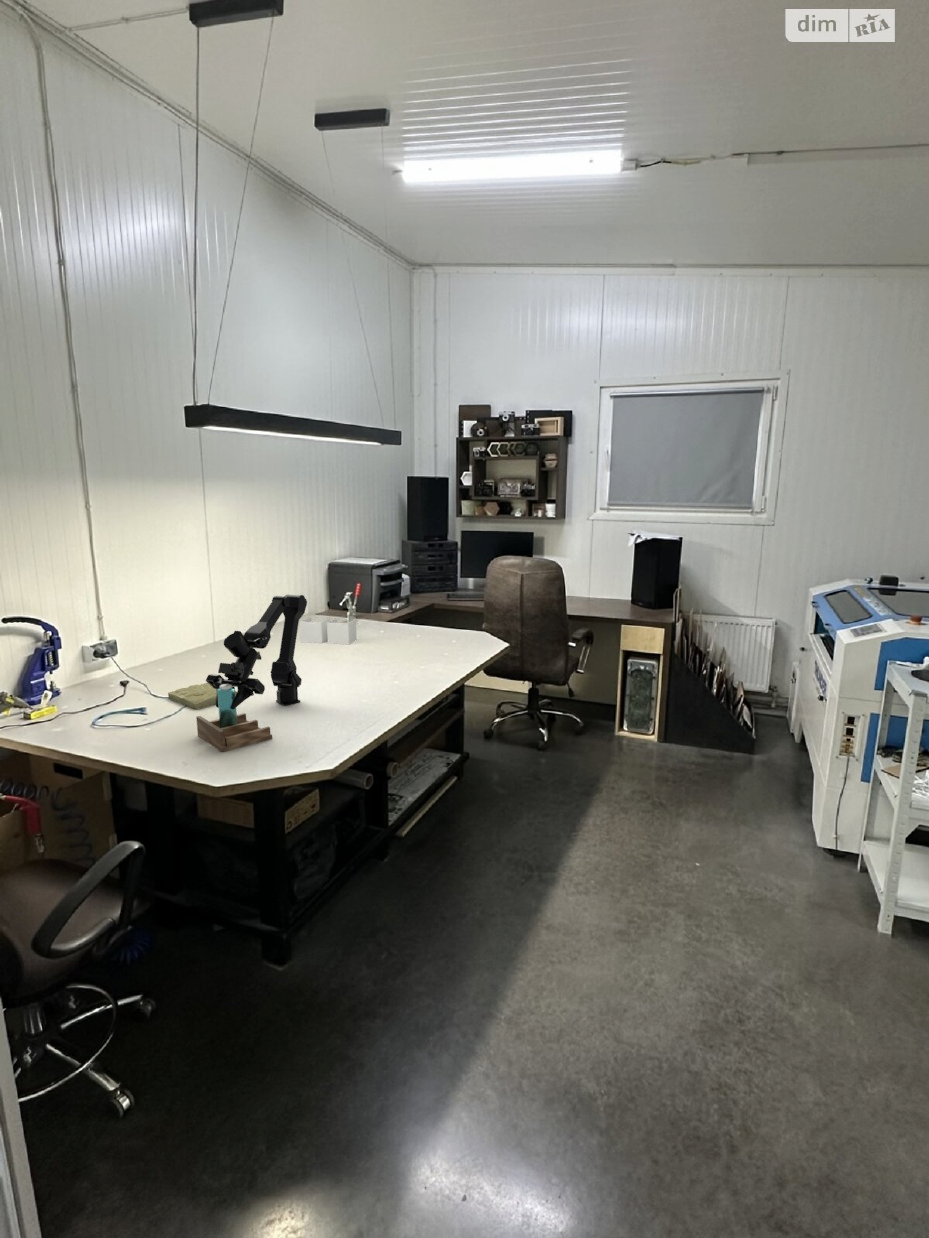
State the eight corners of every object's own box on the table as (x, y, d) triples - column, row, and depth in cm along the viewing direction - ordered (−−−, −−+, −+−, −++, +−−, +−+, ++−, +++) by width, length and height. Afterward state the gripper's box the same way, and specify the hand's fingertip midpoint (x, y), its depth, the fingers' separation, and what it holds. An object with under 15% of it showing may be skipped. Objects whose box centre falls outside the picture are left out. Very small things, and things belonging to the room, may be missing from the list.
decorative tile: (196, 711, 234) (195, 701, 234) (167, 699, 247) (166, 690, 246) (244, 698, 249) (243, 689, 248) (214, 688, 261) (214, 679, 260)
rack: (246, 723, 221) (245, 705, 220) (272, 738, 208) (271, 719, 207) (197, 735, 210) (196, 716, 209) (221, 752, 197) (220, 732, 196)
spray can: (239, 723, 214) (236, 683, 212) (234, 729, 209) (231, 688, 206) (223, 723, 214) (220, 683, 212) (217, 729, 209) (214, 688, 207)
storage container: (301, 643, 334) (300, 621, 332) (310, 638, 345) (309, 617, 343) (349, 645, 330) (348, 623, 328) (356, 640, 341) (355, 619, 338)
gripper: (207, 649, 214) (185, 692, 206) (257, 654, 208) (236, 699, 200) (224, 667, 223) (205, 709, 215) (273, 672, 217) (254, 715, 209)
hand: (224, 708), depth 209 cm, fingers closed on spray can, 5 cm apart
